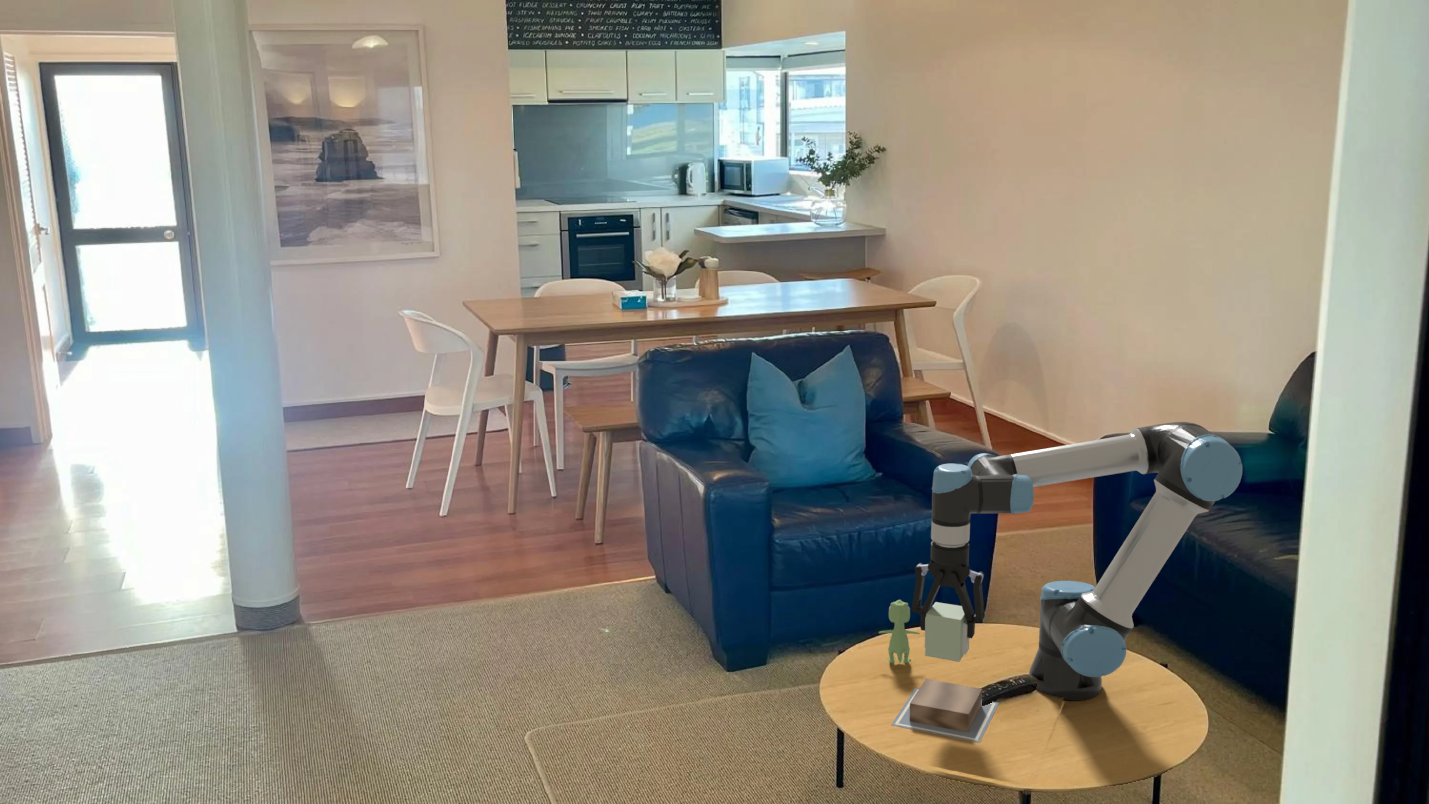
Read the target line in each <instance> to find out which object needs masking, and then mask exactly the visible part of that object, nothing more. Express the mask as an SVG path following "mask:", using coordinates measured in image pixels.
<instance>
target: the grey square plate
mask: <svg viewBox="0 0 1429 804" xmlns="http://www.w3.org/2000/svg"><path fill="white" fill-rule="evenodd" d="M919 688H920V687H915V688H914V689H913V691H911V694H910V695H909V697H908V699H907V700H906V701H905V703H904V704H903V706H902V708H901V709H900V711H898V714H897V715H896V717H895V718H894V720H893V722H892V723H891V724H890V726H894V727H898V728H903V729H908V730H914V731H918V732H924V733H927V734H928V733H929V734H932V735H933V734H934V735H939V736H943V737H948V738H949V737H950V738H952V739H953V738H954V739H960V740H962V741H963V740H964V741H969V742H973V743H981V741H982V739H983V737H984V735H985V733H986V731H987V729H988V726H989V724H990V722H991V721H992V719H993V717H994V715H995V712H996V711H997V709H998V707H999V705H1000V702H997V701H996V702H995V701H992V703H990V704H988V705H985V706H982V707H981V709H980V711H979V713H978V714H977V716H976V718H975V720H974V722H973V724H972V726H971V728H970V730H969V732H968V733H967V732H962V731H957V730H952V729H947V728H942V727H937V726H932V725H927V724H921V723H916V722H911V721H910V702H911V701H912V699H913V698H914V696H915V695H916V693H917V691H918V690H919Z"/></svg>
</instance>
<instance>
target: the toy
mask: <svg viewBox="0 0 1429 804" xmlns="http://www.w3.org/2000/svg"><path fill="white" fill-rule="evenodd" d="M910 618H911V608H910V606H909V603H908V602H904V601H902V599H898V600H896V601H893V602H891V603H890V606H889V607H888V619H889V621H890V622H891V623H893V624H894V627H893V629H889V630H880V631H878V634H891V635H890V639H889V643H888V656H889V657H887V661H888V662H889V663H891V664H894V663H895V661H896V660H898V662H899V664H901V663H902V662H903V663H904V664H908V663H910V662H911V658H909V656H910V652H911V651H910V650H911V649H910V645H909V644H910V643H909V638H908V635H909V634H911V635H912V634H914V635H921V632H919V631H914V630H913V631H911V630H908V629H907V630H906V629H905V624H907V623H908V622H909V621H910ZM894 654H895V655H896V657H897V658H896V657H894Z"/></svg>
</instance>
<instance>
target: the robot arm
mask: <svg viewBox="0 0 1429 804" xmlns="http://www.w3.org/2000/svg"><path fill="white" fill-rule="evenodd" d="M1134 471H1137V472H1138V473H1140V474H1142V475H1147V474H1154V473H1157V474H1156V476H1155V478H1154V479H1153V482H1154V486H1155V493H1154V494H1153V496H1152V497H1151V499H1150V500H1149V502H1148V504H1147V505H1146V506H1145V508H1144V510H1143V512H1142V513H1141V515H1140V516H1139V518H1138V520H1137V521H1136V522H1135V524H1134V526H1133V528H1132V529H1131V531H1130V532H1129V534H1128V535H1127V537H1126V539H1125V540H1124V541H1123V543H1122V545H1121V546H1120V548H1118V551H1117V553H1116V554H1115V556H1114V557H1113V559H1112V560H1111V562H1110V564H1109V565H1108V567H1107V568H1106V569H1105V571H1104V573H1103V574H1102V576H1101V578H1100V579H1099V581H1098V583H1097V584H1096V586H1095V585H1092V584H1090V583H1087V582H1083V581H1076V580H1057V581H1055V580H1054V581H1051V582H1047V583H1046V584H1043V586H1042V587H1041V592H1040V597H1039V600H1040V603H1039V606H1040V607H1039V609H1040V610H1039V628H1038V629H1039V631H1038V633H1039V634H1038V649H1037V652H1036V653H1035V656H1034V659H1033V661H1032V664H1031V666H1030V669H1029V673H1028V677H1029V676H1032V677H1034V678H1037V687H1036V689H1035V690H1037V691H1038V692H1040V693H1043V694H1045V695H1047V696H1048V695H1049V696H1051V697H1056V698H1060V699H1061V698H1062V699H1063V700H1065V701H1082V700H1088V699H1091V698H1094V697H1096V696H1098V695H1099V694H1100V693H1101V691H1102V683H1103V682H1102V681H1103V680H1102V677H1103V676H1108V675H1110V674H1113V673H1114V672H1116V671H1117V670H1118V669H1119V668H1120V667H1121V666H1122V665H1123V663H1124V661H1125V660H1126V656H1127V644H1126V639H1127V638H1128V636H1129V635H1130V633H1131V631H1132V630H1133V628H1134V621H1133V617H1132V616H1133V614H1134V612H1135V610H1136V608H1138V606H1139V604H1140V602H1141V601H1142V600H1143V598H1144V597H1145V596H1146V593H1147V592H1148V590H1149V589H1150V587H1151V585H1152V584H1153V583H1154V581H1155V580H1156V577H1158V574H1160V572H1161V570H1162V568H1164V565H1165V564H1166V562H1167V560H1168V559H1169V558H1170V556H1171V555H1172V553H1173V551H1174V550H1175V548H1176V547H1177V545H1178V544H1179V542H1180V541H1181V539H1182V538H1183V536H1184V534H1185V533H1186V531H1187V530H1188V528H1189V527H1190V525H1191V523H1192V522H1193V521H1194V519H1195V518H1196V517H1197V516H1198V514H1203V513H1207V512H1209V511H1210V510H1211V508H1212V506H1214V504H1215V502H1216V501H1221V499H1226V498H1227V497H1229V496H1230V495H1231V494H1233V493H1234V492H1235V491H1236V490H1237V488H1238V487H1239V484H1240V483H1241V479H1242V476H1243V463H1242V460H1241V456H1240V455H1239V452H1238V451H1237V450H1236V449H1235V448H1234V447H1233V446H1232V445H1231V444H1230V443H1229V442H1228V441H1227V440H1225V439H1224V438H1223V437H1221V436H1218V435H1217V434H1214V433H1212V432H1211V431H1209V430H1208V429H1207V428H1205V427H1204V426H1202V425H1200V424H1197V423H1195V422H1194V423H1193V422H1188V421H1175V422H1165V423H1160V424H1154V425H1148V426H1143V427H1142V426H1141V427H1137V428H1133V429H1132V430H1131V431H1130V433H1129V434H1125V435H1118V436H1113V437H1107V438H1100V439H1094V440H1088V441H1082V442H1077V443H1071V444H1066V445H1059V446H1054V447H1048V448H1042V449H1035V450H1034V449H1033V450H1030V451H1029V450H1028V451H1023V452H1018V453H1013V454H1012V453H1011V454H1004V455H998V456H996V455H995V454H991V453H988V452H987V453H985V452H983V453H982V452H981V453H979V454H975V455H974V456H973V457H972V458H971V459H970V460H969V462H968V463H967V465H965V464H961V463H943V464H940V465H938V466H936V468H934V471H933V477H932V487H931V490H932V491H931V495H932V496H931V506H932V507H931V529H930V539H931V542H930V560H929V562H928V563H927V564H923V563H922V562H919V563H918V564H917V565H916V566H915V567H914V573H915V583H914V584H915V585H914V591H913V596H912V597H913V598H912V605H911V611H912V612H913V613H916V614H918V615H920V625H919V626H920V630H921V631H924V642H925V641H926V614H927V613H928V611H929V610H930V609H931V607H932V606H933V602H934V600H935V598H936V596H937V594H938V592H939V589H940V588H941V587H949V588H953V589H954V590H955V593H956V594H957V597H958V600H959V602H960V606H962V609H963V611H964V614H965V617H966V620H965V622H964V623H963V643H962V654H964V655H967V653H968V652H969V650H970V639H973V638H974V636H975V632H976V630H975V629H976V623H982V621H983V620H984V619H985V617H986V614H985V605H984V604H985V603H984V594H983V593H984V592H983V581H984V577H985V573H984V572H983V571H979V572H977V571H974V570H972V568H971V567H970V563H969V561H970V560H969V559H970V543H969V541H970V534H971V531H970V530H971V515H972V514H1011V515H1014V514H1023V513H1024V514H1025V513H1026V514H1027V513H1029V512H1030V511H1031V510H1032V509H1033V505H1034V501H1035V500H1034V498H1035V494H1034V492H1035V491H1034V488H1035V487H1041V486H1046V485H1047V486H1048V485H1053V484H1054V485H1055V484H1061V483H1065V482H1073V481H1078V480H1085V479H1090V478H1097V477H1104V476H1110V475H1116V474H1123V473H1128V472H1134ZM928 572H929V573H930V575H931V576H932V578H933V580H934V581H933V583H932V585H931V587H930V590H929V592H928V594H927V596H926V599H925V601H924V604H923V605H922V599H923V593H924V587H925V581H926V575H927V574H928ZM968 577H969V578H970V581H971V583H972V584H973V587H972V588H973V590H972V591H973V601H974V609H973V605H972V602H971V599H970V596H969V593H968V590H967V586H966V582H965V580H966V579H967V578H968Z"/></svg>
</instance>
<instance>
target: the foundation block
mask: <svg viewBox="0 0 1429 804" xmlns="http://www.w3.org/2000/svg"><path fill="white" fill-rule="evenodd" d="M918 688H919V690H918V691H917V693H916V695H915V696H914V698H913V699H912V701H911V702H910V721H911V722H916V723H921V724H927V725H932V726H937V727H942V728H947V729H952V730H957V731H962V732H967V733H968V732H969V730H970V728H971V726H972V724H973V722H974V720H975V718H976V716H977V714H978V713H979V711H980V709H981V707H982V700H983V688H980V687H973V686H968V685H964V684H958V683H952V682H946V681H939V680H936V679H935V680H934V679H930V678H929V679H928V678H925V679H924V680H923V681H922V684H921V685H920V687H918Z"/></svg>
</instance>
